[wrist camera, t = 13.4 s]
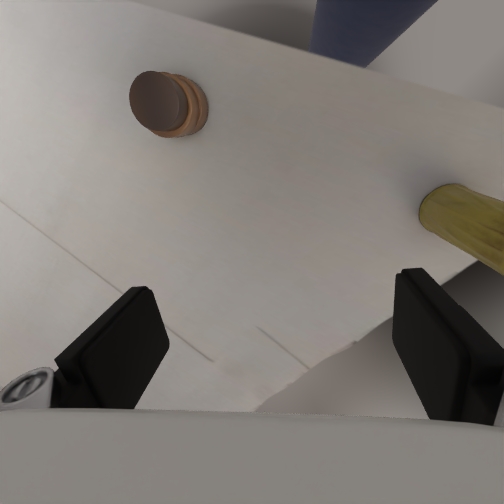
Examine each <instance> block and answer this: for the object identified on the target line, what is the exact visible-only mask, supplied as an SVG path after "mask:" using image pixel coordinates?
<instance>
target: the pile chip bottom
mask: <svg viewBox="0 0 504 504" xmlns="http://www.w3.org/2000/svg"><path fill="white" fill-rule="evenodd" d="M172 75H174V76H176V77H178V78H180V79H182V80H184V81H185V82H187V83H188V84H189V85H190V86H191V87H192V89H193V90H194V92H195V94H196V96H197V98H198V102H199V109H200V112H199V119H198V122H197V124H196V126H195V128H194V129H193V130H192V131H191V132H190V133H189V134H187V135H191V134H194V133H196V132H198V131H199V130H200V129H201V128H202V127H203V126H204V124H205V122H206V120H207V116H208V102H207V99H206V96H205V94H204V92H203V91H202V89H201V88H200V87H199V86H198V85H197V84H196V83H195V82H193V81H191V80H189V79H187V78H186V77H184V76H181V75H177V74H172Z"/></svg>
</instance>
